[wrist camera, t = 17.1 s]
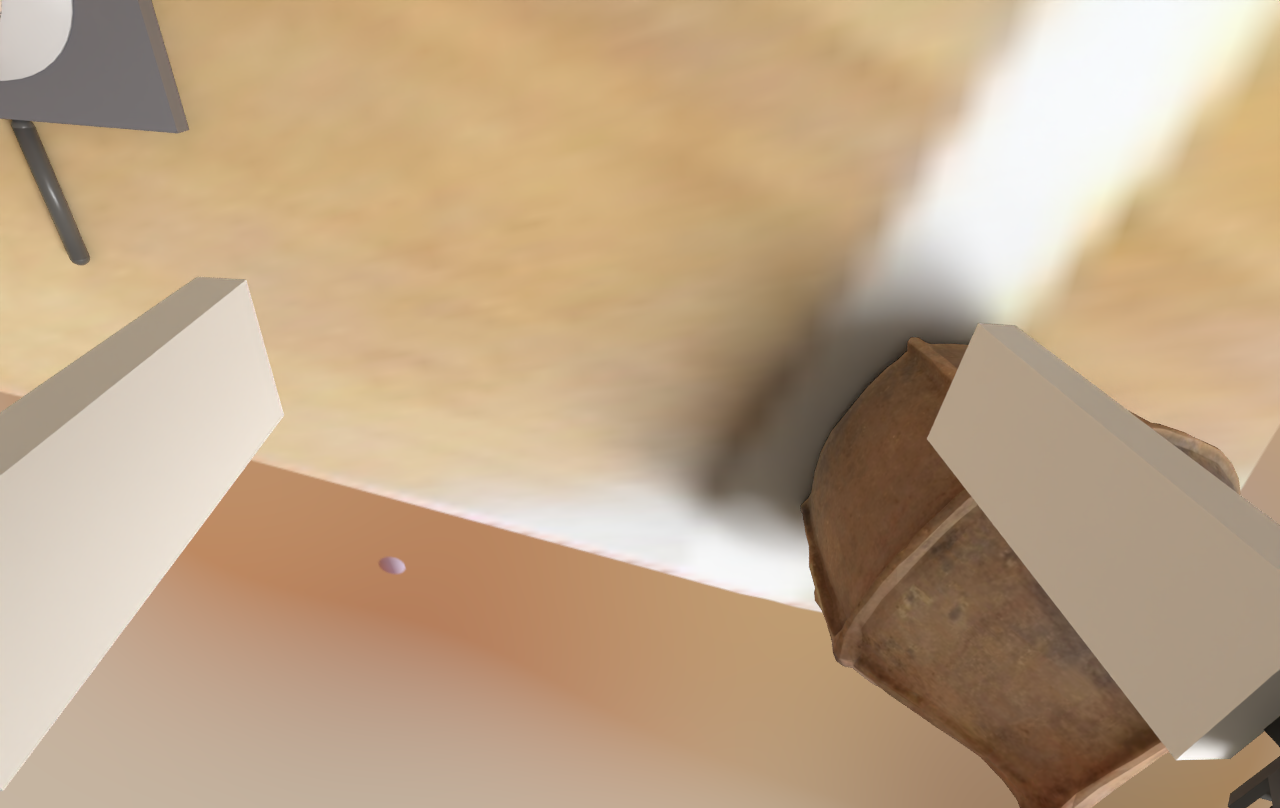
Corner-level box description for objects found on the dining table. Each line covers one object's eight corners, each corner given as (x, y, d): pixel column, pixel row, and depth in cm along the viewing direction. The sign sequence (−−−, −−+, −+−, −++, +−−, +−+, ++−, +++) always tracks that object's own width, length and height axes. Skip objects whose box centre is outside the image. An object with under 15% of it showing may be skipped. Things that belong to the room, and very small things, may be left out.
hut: (748, 521, 58) (866, 905, 34) (911, 273, 45) (1308, 604, 20) (936, 567, 64) (1155, 924, 39) (1129, 360, 51) (1646, 700, 26)
